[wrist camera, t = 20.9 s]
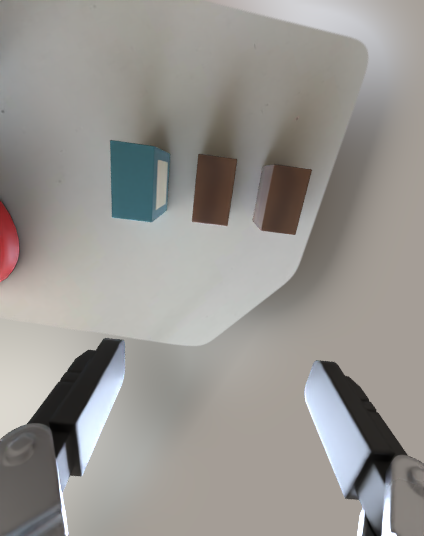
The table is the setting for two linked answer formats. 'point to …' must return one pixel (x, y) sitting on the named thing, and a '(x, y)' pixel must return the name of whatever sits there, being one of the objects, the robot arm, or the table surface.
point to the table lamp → (7, 243)
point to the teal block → (138, 181)
